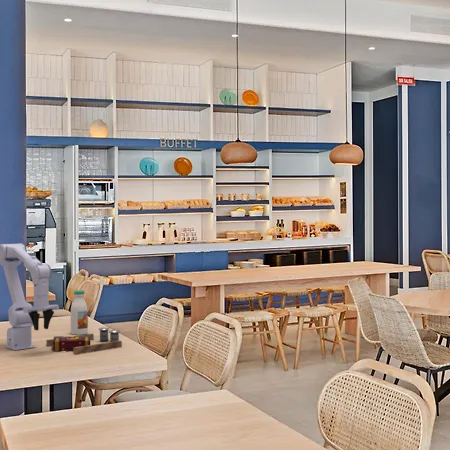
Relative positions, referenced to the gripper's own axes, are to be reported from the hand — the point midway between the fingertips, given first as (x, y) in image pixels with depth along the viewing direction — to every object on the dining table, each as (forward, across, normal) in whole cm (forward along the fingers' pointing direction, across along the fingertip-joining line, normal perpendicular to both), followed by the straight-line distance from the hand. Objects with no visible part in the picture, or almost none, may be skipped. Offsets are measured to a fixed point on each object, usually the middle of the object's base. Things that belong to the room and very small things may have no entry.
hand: (41, 329), depth 268 cm
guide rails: (+9, +20, 0) cm, 22 cm away
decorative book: (+10, +13, 0) cm, 17 cm away
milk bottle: (+10, +34, +27) cm, 44 cm away
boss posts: (+9, +32, 0) cm, 33 cm away
